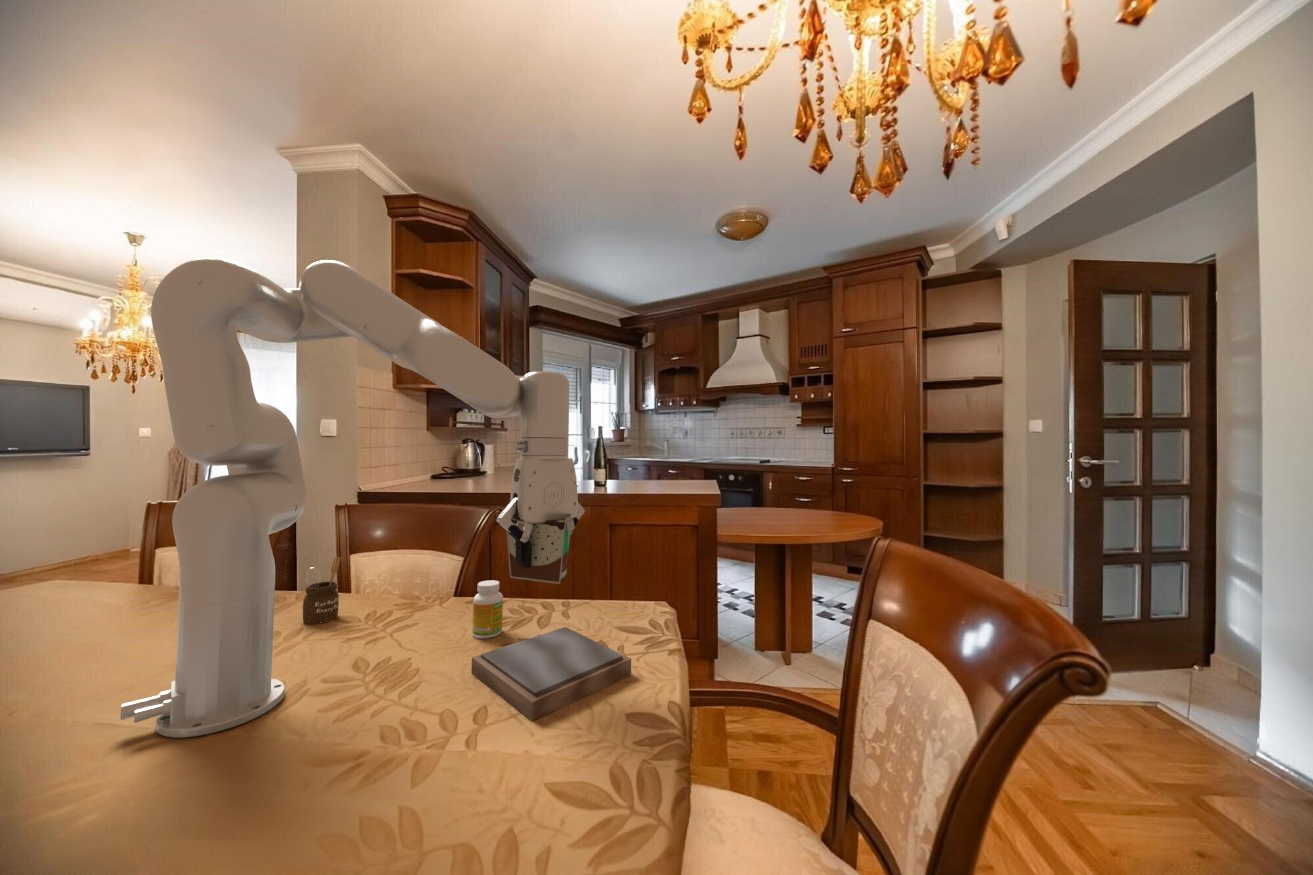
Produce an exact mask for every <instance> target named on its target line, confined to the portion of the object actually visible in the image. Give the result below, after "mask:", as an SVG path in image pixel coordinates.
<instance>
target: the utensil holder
mask: <svg viewBox="0 0 1313 875" xmlns="http://www.w3.org/2000/svg"><path fill="white" fill-rule="evenodd" d="M340 561H341V557H339V556H334V558H333V562H332V566H331V567H330V573H331V577H330V579H329V580H330V581H321V579H322V578H321V577H319V576H315V575H312V573H310V572H309V571H310V570H313V572H315V571H316V570H317V572H318V574H317V572H315V573H316V575H320V574H321V572H320V571H319V569H318V568H317V567H316V566H313V567H310V568H308V569H307V570H305V571H306V572H305V573H306V574H307V575H311V577H313V576H314V579H316V578H317V580H319V581H317V582H313V580H312V582H311V579H310V577H308V578H309V581H308V578H306V579H305V580H306V582H307V586H306V589H305V595H304V598H303V601H302V620H303V623H304V622H305V624H307V623H308V624H307V625H317V624H316V623H318V624H321V623H320V622H324V623H326V621H328V622H330V621H329V620H331V619H333V618H335V617H336V616H337V617H338V615H339V604H340V602H339V600H340V598H339V592H338V591H337V589H338V584H337V582H335V581H333V580H334V577H335V574H336V573H338V570H339V565H340ZM309 573H310V574H309ZM309 582H310V584H309ZM337 617H336V618H337ZM336 618H335V619H336ZM333 620H334V619H333ZM331 621H332V620H331Z"/></svg>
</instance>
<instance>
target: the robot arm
mask: <svg viewBox="0 0 1313 875" xmlns="http://www.w3.org/2000/svg"><path fill="white" fill-rule="evenodd" d="M150 307H151V308H150V317H151V322H152V323H151V324H152V329H153V334H154V339H155V341H156V345H157V349H158V354H159V357H160V362H161V367H162V371H163V372H162V373H163V381H164V389H165V394H166V400H167V406H168V407H167V408H168V412H169V413H168V414H169V418H170V424H171V430H172V434H173V440H174V443H175V446H176V448H177V450H178V451H179V453H180V454H181V455H182V456H183V457H184V458H185V459H187V460H188V461H191V462H192V463H194V464H195V463H196V464H199V465H203V466H211V467H212V466H214V467H215V466H218V467H219V466H226V469H227V472H228V474H225V475H220V476H215V477H211V478H208V479H205V480H204V481H201V482H199V483H197V484H195V485H193V486H192V487H190V488H189V489H188V490H187V491H185V492H184V493H183V494H182V495H181V497H180V498H179V499H178V501H177V503H176V504H175V506H174V509H173V512H172V518H171V520H172V521H171V523H172V532H173V537H174V540H175V541H174V542H175V546H176V551H177V557H178V568H179V569H178V572H179V574H178V575H179V578H178V579H179V580H178V581H179V584H178V586H179V587H178V614H177V615H178V616H177V634H176V635H177V636H176V637H177V638H176V660H175V680H172V681H171V687H170V688H167V689H165V690H161V691H159V694H157V695H152V696H148V697H144V698H143V697H142V698H137V699H134V700H130V701H126V702H122V703H121V706H120V708H121V709H120V721H123V720H127V719H130V718H134V720H133V722H134V723H139V722H142V721H145V720H149V719H150V718H151V719H152V718H155V717H156V718H155V719H156V720H155V731H156V733H158V735H161V736H163V737H168V738H173V739H174V738H175V739H176V738H192V737H198V736H205V735H210V734H214V733H218V732H222V731H225V730H228V729H232V728H234V727H237V726H240V725H243V724H245V723H248V722H249V721H251V720H255V719H257V718H258V717H261V716H262V715H264V714H266V713H268V712H269V711H270V710H272V709H273V708H274V707H276V706H277V705H278V704H279V703H280V702H282V700H283V699H284V697H285V694H286V685H285V683H284V682H283V681H281V680H279V679H276V678H272V672H273V671H272V670H273V669H272V668H273V642H274V622H275V621H274V619H275V617H274V616H275V598H276V597H275V592H276V590H275V589H276V563H275V557H274V553H273V549H272V545H271V542H270V535H272V534H275V533H278V532H280V531H283V530H285V529H287V528H289V527H290V526H292V525H293V524H294V523H296V522H297V521H298V520H299V519H300V517H301V516H302V515H303V513H304V510H305V508H306V504H307V490H306V489H307V488H306V484H305V483H306V482H305V476H304V475H305V474H304V470H303V465H302V464H303V463H302V459H301V452H300V448H299V440H298V436H297V432H296V430H295V428H294V425H293V423H292V422H291V420H290V419H289V417H288V416H287V415H286V414H285V413H284V412H282V410H280V409H278V408H277V407H275V406H272V405H271V404H267V403H264V402H262V401H261V402H260V401H258V400H257V398H256V395H255V391H254V387H253V383H252V375H251V373H252V372H251V367H250V364H249V361H248V359H247V356H246V354H245V352H244V350H243V348H242V346H241V344H240V342H239V339H238V332H241V333H244V334H246V335H248V336H251V337H253V338H256V339H258V340H261V341H266V342H270V343H277V344H282V343H283V344H284V343H285V344H287V343H291V344H292V343H303V342H311V341H312V342H313V341H321V340H331V339H332V340H333V339H342V338H343V339H344V338H349V337H351V338H352V337H353V338H354V339H356V340H357V341H359V342H360V343H362V344H364V345H366V346H367V347H368V348H370V349H371V350H372V351H373V350H374V351H375V352H377V353H378V354H380V355H381V356H383V357H384V358H386V359H388V360H390V361H391V362H393V363H394V364H396V365H397V366H400V367H401V368H405V369H407V370H410V371H413V372H415V373H417V374H419V375H420V376H422V377H423V378H425V379H427V380H429V381H430V382H432V383H433V384H435V385H436V386H438V387H440V388H441V389H442V390H445V391H446V392H448V393H449V394H451V395H452V396H454V397H455V398H457V399H459V400H461V401H462V402H464V403H465V404H467V405H468V406H470V407H472V408H473V409H475V410H476V411H478V412H479V413H481V414H482V415H484V416H486V417H488V418H493V419H504V418H511V417H520V438H519V441H515V442H514V443H513V444H512V448H513V450H514V452H515V451H516V452H519V458H516V460H515V465H514V468H513V472H512V478H511V488H510V498H509V501H510V502H509V503H508V504H507V505H506V507H505V508H504V509H503V510H502V511H501V512H500V513H499V515H498V516H497V518H496V523H498V524H499V525H500V526H501V527H502V528H503V529H504V530H505V532H506V531H507V532H508V533H509V534H510V535H511V536H512V538H513V539H514V540H516V556H515V558H516V561H517V565H519V566H521V567H524V568H530V567H531V554H532V543H531V542H530V541H528V538H529V536H530V533H531V530H532V527H533V524H538V523H545V522H547V521H557V520H565V518H567V517H569V515H570V514H571V518H573V521H574V526H575V527H576V525H577V524H578V522H579V520H580V519H581V517H582V516H583V515H584V513H585V510H586V509H585V508H584V507H583V506H582V505H581V503H580V502H579V499H578V498H579V497H578V484H577V483H578V481H577V473H576V469H575V468H576V467H575V465H574V464H575V462H574V459H573V458H569V441H570V440H569V439H570V438H569V436H570V435H569V434H570V433H569V431H570V427H569V425H570V381H569V379H568V377H567V375H565V374H562V373H560V372H554V371H543V370H542V371H540V370H539V371H531V372H528V373H525V374H524V375H516V374H515V373H514V372H513V371H512V370H511V369H510V368H509V367H507V366H506V365H505V364H504V363H503V362H500V361H499V360H498V359H496V358H495V357H493V356H492V355H490V354H489V353H487V352H485V351H484V350H483V349H481V348H480V347H478V346H476V345H475V344H474V343H472V342H470V341H468V340H467V339H465V338H463V337H462V336H461V335H459V334H457V333H456V332H454V331H453V330H450V329H448V328H447V327H445V326H443V325H442V324H440V323H439V322H438V321H437V320H435V319H433V318H432V317H429V315H427V314H425V313H423V312H422V311H421V310H418V309H417V308H415V307H414V306H412V305H411V304H410V303H407V302H406V301H405V300H403V299H402V298H400V297H398V295H396V294H394V293H393V292H391V291H389V290H388V289H386V288H385V287H383V286H381V285H380V284H379V283H377V282H376V281H374V280H373V279H371V278H369V277H368V276H367V275H365V274H363V273H362V272H360V271H358V270H357V269H356V268H354V267H352V266H350V265H348V264H345V263H344V262H340V261H337V260H330V259H329V260H328V259H326V260H325V259H324V260H318V261H316V262H313V263H311V264H310V265H308V266H307V267H306V268H305V269H304V270H303V271H302V273H301V275H300V276H299V283H298V287H297V288H283V287H282V286H280V284H279V285H278V283H276V282H274V281H272V280H271V279H270V278H268V277H267V276H265V275H263V274H261V273H260V272H258V271H257V270H255V269H253V268H251V267H249V266H247V265H244V264H242V263H240V262H237V261H235V260H231V259H227V258H222V257H212V256H211V257H209V256H208V257H200V258H199V257H198V258H195V259H192V260H188V261H186V262H183V263H181V264H179V265H178V266H175V268H173V269H172V270H171V271H169V272H168V273H167V274H166V275H165V276H164V278H162V279H161V281H160V283H159V284H158V286H157V287H156V289H155V291H154V293H153V297H152V300H151V306H150ZM511 518H512V519H513V520H516V521H517V524H516V525H514V524H513V522H512V521H511ZM572 534H573V530H572V531H570V536H571V535H572ZM568 553H569V551H568Z"/></svg>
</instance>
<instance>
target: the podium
mask: <svg viewBox="0 0 1313 875" xmlns="http://www.w3.org/2000/svg"><path fill="white" fill-rule="evenodd" d="M470 671H471V672H470V673H471V674H472V675H473V676H474V677H475V678H477V679H478V680H479V681H481V682H482V683H483V684H484V685H486V686H487V687H488V688H489V689H491V691H493V692H494V693H495V694H497V695H498V696H499V697H500V698H502V699H503V700H504V701H506V702H507V703H508V704H509V705H511V706H512V707H513V708H515V710H517V711H518V712H519V713H521V714H522V715H523V716H524V717H526V718H527V719H528V720H530V721H531V722H533V721H536V720H537V719H540V718H542V717H544V716H546V715H549V714H550V713H553V712H554V711H557V710H558V709H560V708H563V707H566V706H567V705H570V704H572V703H573V702H576V701H578V700H581V699H582V698H584V697H586V696H587V697H588V695H591V694H593V693H595V692H597V691H599V690H602V689H604V688H605V686H606V687H607V685H608V686H610V685H612V684H614V683H616V682H618V681H620V680H622V679H621V678H623V677H625V676H627V675H629V674H631V675H632V658H630V657H628V656H626V655H625V654H622V653H620V652H619V651H616V650H614V649H611V648H610V647H608V646H605V645H604V644H602V643H600V642H598V641H596V640H593V639H591V638H589V637H588V636H585V635H583V634H581V633H579V632H577V631H575V630H572V629H570V628H568V627H567V626H564V627H561V628H558V629H555V630H552V631H549V632H548V631H547V632H545V633H543V634H539V635H536V636H533V637H530V638H526V639H525V640H521V641H518V642H515V643H511V644H508V645H504V646H502V647H499V648H495V649H493V650H490V651H486V652H484V653H481V654H478V655H475V656H472V657H471V669H470ZM629 676H630V675H629ZM627 677H628V676H627ZM625 678H626V677H625ZM619 679H620V680H619ZM623 679H624V678H623ZM615 681H616V682H615ZM613 682H614V683H613ZM611 683H612V684H611ZM592 692H593V693H592Z"/></svg>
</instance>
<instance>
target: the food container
mask: <svg viewBox="0 0 1313 875" xmlns="http://www.w3.org/2000/svg"><path fill="white" fill-rule="evenodd" d="M511 521H512V522H513V524H514V525H516V524H517V521H516V520H513V519H512V518H511ZM575 529H576V525H575V526H574V521H573V518H571V514H570V515H569V517H567V518H565V520H557V521H547V522H545V523H538V524H533V527H532V530H531V533H530V536H529V538H528V541H530V542H531V543H532V554H531V567H530V568H524V567H521V566H519V565H517V561H516V558H515V556H516V540H514V539H513V538H512V536H511V535H510V534H509V533H508V532H507V531H506V530H505V533H506V541H507V542H506V544H507V556H508V569H509V570H508V572H509V578H511V579H516V580H517V579H518V580H519V579H520V580H525V581H526V580H527V581H534V582H542V583H549V584H559V585H561V584H563V583H564V582H565V581H566V580H567V570H568V559H569V552H568V551H569V550H570V536H571V535H570V531H572V532H573V530H575Z"/></svg>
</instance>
